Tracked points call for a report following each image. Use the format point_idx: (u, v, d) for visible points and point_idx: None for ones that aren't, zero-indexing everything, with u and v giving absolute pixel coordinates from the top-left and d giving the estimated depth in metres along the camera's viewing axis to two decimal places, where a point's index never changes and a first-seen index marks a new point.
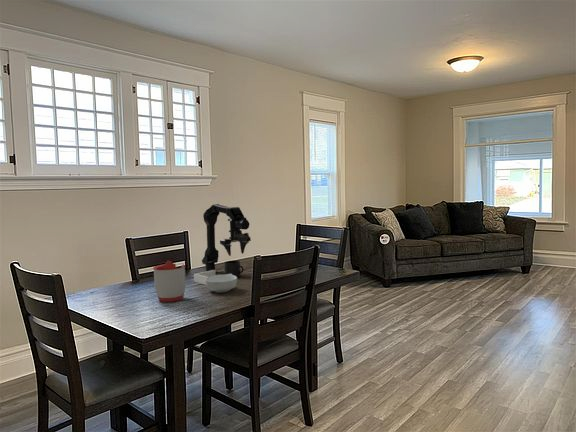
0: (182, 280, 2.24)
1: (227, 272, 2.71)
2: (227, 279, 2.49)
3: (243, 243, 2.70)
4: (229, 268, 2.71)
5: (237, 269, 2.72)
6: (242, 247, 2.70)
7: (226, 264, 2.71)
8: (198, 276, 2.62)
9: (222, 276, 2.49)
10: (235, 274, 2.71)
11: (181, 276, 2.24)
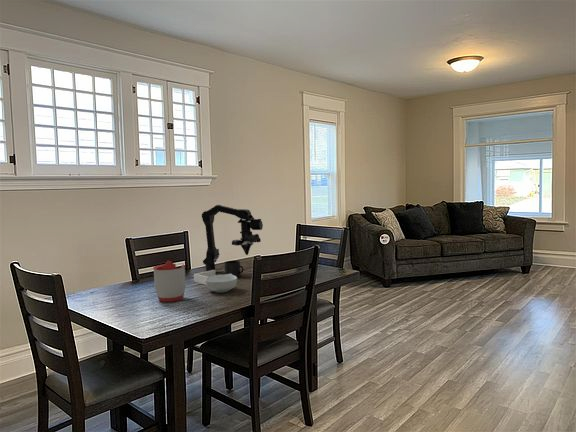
0: (182, 280, 2.24)
1: (227, 272, 2.71)
2: (227, 279, 2.49)
3: None
4: (229, 268, 2.71)
5: (237, 269, 2.72)
6: (247, 248, 2.81)
7: (226, 264, 2.71)
8: (198, 276, 2.62)
9: (222, 276, 2.49)
10: (235, 274, 2.71)
11: (181, 276, 2.24)
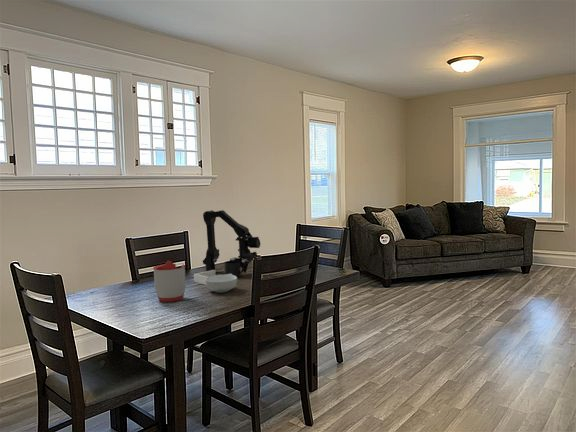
0: (182, 280, 2.24)
1: (227, 272, 2.71)
2: (227, 279, 2.49)
3: None
4: (229, 268, 2.70)
5: (237, 269, 2.72)
6: None
7: (226, 264, 2.71)
8: (198, 276, 2.62)
9: (222, 276, 2.49)
10: (235, 274, 2.71)
11: (181, 276, 2.24)
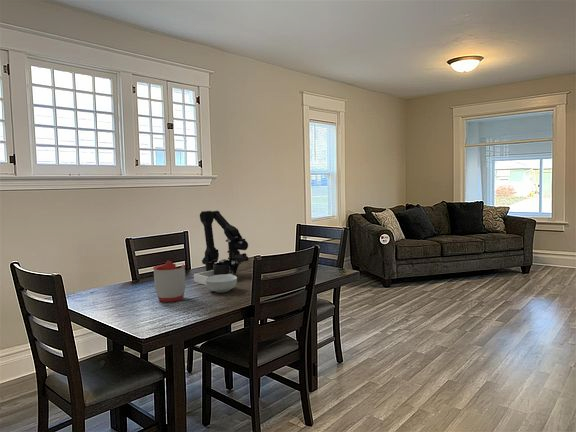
0: (182, 280, 2.24)
1: (215, 274, 2.67)
2: (227, 279, 2.49)
3: None
4: (217, 270, 2.66)
5: (225, 271, 2.66)
6: None
7: (214, 266, 2.67)
8: (198, 276, 2.62)
9: (222, 276, 2.49)
10: None
11: (181, 276, 2.24)
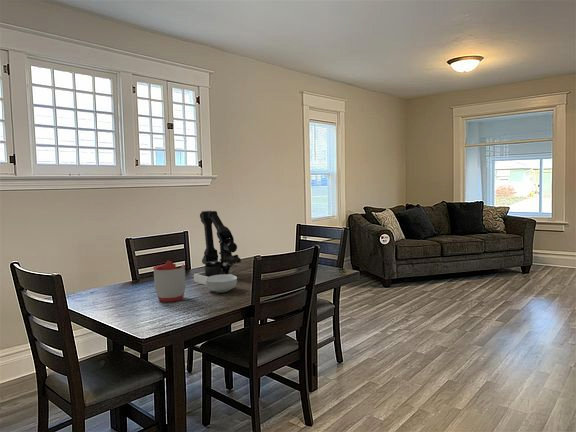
0: (182, 280, 2.24)
1: (207, 276, 2.63)
2: (227, 279, 2.49)
3: None
4: (208, 272, 2.62)
5: (217, 273, 2.62)
6: None
7: (205, 268, 2.63)
8: (198, 276, 2.62)
9: (222, 276, 2.49)
10: None
11: (181, 276, 2.24)
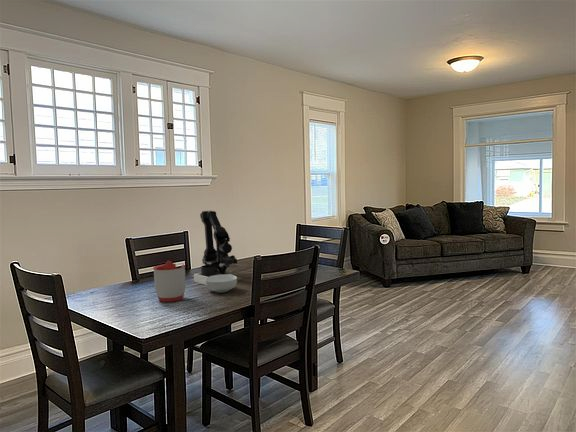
0: (182, 280, 2.24)
1: None
2: (227, 279, 2.49)
3: None
4: (204, 273, 2.60)
5: (213, 273, 2.61)
6: None
7: (202, 268, 2.61)
8: (198, 276, 2.62)
9: (222, 276, 2.49)
10: None
11: (181, 276, 2.24)
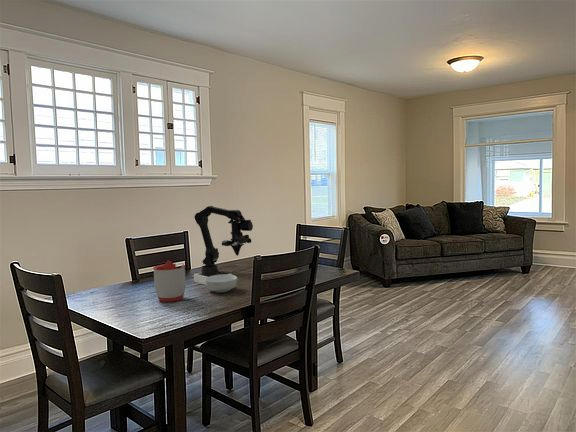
0: (182, 280, 2.24)
1: None
2: (227, 279, 2.49)
3: (238, 245, 2.79)
4: (205, 273, 2.60)
5: (214, 274, 2.61)
6: None
7: (202, 268, 2.61)
8: (198, 276, 2.62)
9: (222, 276, 2.49)
10: None
11: (181, 276, 2.24)
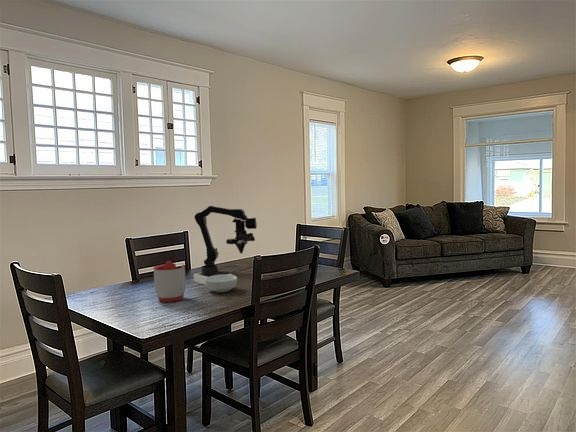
0: (182, 280, 2.24)
1: None
2: (227, 279, 2.49)
3: None
4: (205, 273, 2.60)
5: (214, 274, 2.61)
6: None
7: (202, 268, 2.61)
8: (198, 276, 2.62)
9: (222, 276, 2.49)
10: None
11: (181, 276, 2.24)
